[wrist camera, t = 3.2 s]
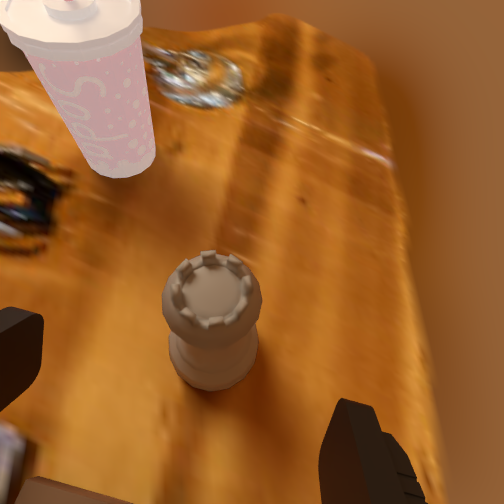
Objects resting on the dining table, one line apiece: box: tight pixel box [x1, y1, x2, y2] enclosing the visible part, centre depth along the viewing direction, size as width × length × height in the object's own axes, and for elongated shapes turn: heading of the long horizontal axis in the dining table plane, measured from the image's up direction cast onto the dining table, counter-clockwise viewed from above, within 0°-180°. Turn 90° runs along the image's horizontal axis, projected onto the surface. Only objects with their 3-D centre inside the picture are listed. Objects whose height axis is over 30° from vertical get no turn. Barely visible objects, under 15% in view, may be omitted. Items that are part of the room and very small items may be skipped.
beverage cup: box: [0, 0, 155, 178], centre depth 16 cm, size 6×6×14 cm
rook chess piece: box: [162, 250, 262, 391], centre depth 13 cm, size 4×4×8 cm
